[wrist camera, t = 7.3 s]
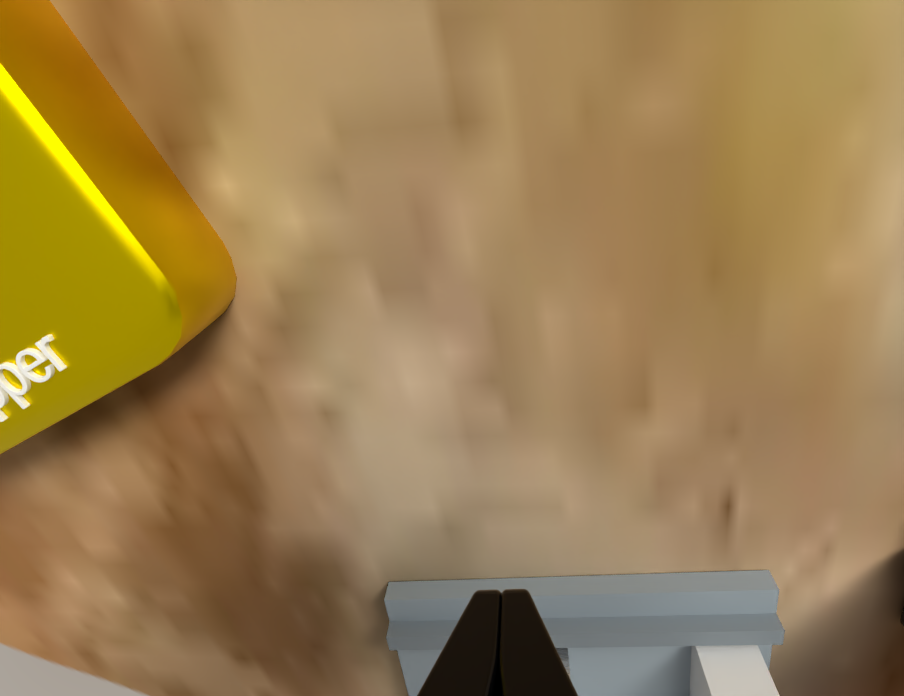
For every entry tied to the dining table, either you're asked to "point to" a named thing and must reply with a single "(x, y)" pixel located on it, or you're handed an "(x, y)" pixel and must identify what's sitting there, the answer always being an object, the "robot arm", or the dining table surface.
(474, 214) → the dining table surface
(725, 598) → the board
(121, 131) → the element tile
